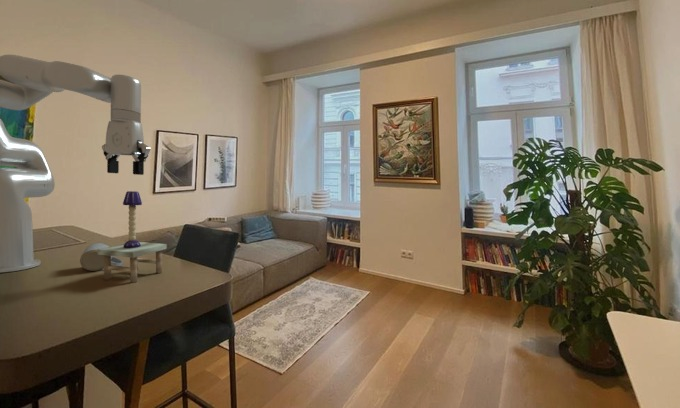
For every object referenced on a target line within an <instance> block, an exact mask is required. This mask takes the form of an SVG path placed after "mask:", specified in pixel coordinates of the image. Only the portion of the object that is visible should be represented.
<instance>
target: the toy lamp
mask: <svg viewBox="0 0 680 408" xmlns="http://www.w3.org/2000/svg"><path fill="white" fill-rule="evenodd" d="M142 205H143V201H142V199H141V195H140V192H139V191H135V190H134V191H128V190H127V191H126V192H125V195H124V199H123V202H122V206H128V225H129V226H128V241H125V243H123V244H124V246H123V247H124V248H135V247H140V246H141V245H140V243H139V242H140V241H139V240H137V237H136V234H137V232H136V229H137V227H136V224H137V222H136V219H137V217H136V214H137V212H136V209H137V206H142Z"/></svg>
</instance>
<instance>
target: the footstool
mask: <svg viewBox="0 0 680 408" xmlns="http://www.w3.org/2000/svg"><path fill="white" fill-rule="evenodd" d="M138 242H139V243H140V245H141V246H140V247H135V248H124V247H123V246H124V244H125V243H123V244H117V245H116V244H115V245H113V246H111V245H110V246H109V247H107V248H102V249H98V255H104V268H103V270H104V271H103V273H104V275H103V278H104V280H105V281H108V280H109V281H110V280H112V271H118V272H127V273H128V272H129V274H130V275H129V279H130V283H131V284H134V283H135V284H136V283H137V282H138V271H139V263H146V264H153V265H155V273H156V274H162V273H163V252H162V251H164V250H167V249H168V245H167V243H157V242H156V243H155V242H146V241H145V242H143V241H138ZM153 253H155V259H152V258H142V257H141V256H144V255H148V254H153ZM111 256H113V257H119V258H120V257H121V258H129V266H123V265H121V266H113V265H111V262H112V261H111Z"/></svg>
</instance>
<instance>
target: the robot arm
mask: <svg viewBox="0 0 680 408" xmlns="http://www.w3.org/2000/svg"><path fill="white" fill-rule="evenodd" d="M0 76H1V77H2V78H3V79H0V108H2V109H3V108H4V109H8V110H11V111H23V110H27V109H29V108H31V107H32V106H34V105H35V104H37V103H39V102H40V101H42V100H43V99H45V98H47V97H49V96H50V95H51V94H52V93H61V92H64V91H70V92H74V93H77V94H81V95H84V96H86V97H90V98H93V99H96V100H98V101H102V102H104V103H108V104H110V120H109V121H108V124H107V127H106V132H105V134H106V135H105V143H104V144H103V145H102V146H101V150H102V152H103V155H104V157H105V160H106V161H107V162H106V163H107V164H106V165H107V166H106V167H107V168H106V169H107V170H106V171H107V174H119V171H120V170H119V169H120V168H119V166H120V165H119V163H120V162H119V160H118V159H119V157H120V156H132V159H134V160H133V161H132V174H133V175H134V176H135V175H137V176H138V175H140V176H143V175H144V173H145V171H144V169H145V168H144V167H145V165H144V163H145V162H146V159H147V158H148V157H149V153H151V152H150V151H151V147H149V146H148V145H146V144H145V142H144V132H143V125H142V123H141V120H142V119H141V117H142V114H141V113H142V85H141V81H140V80H138V78H135V77H132V76H131V75H130V76H129V75H126V74H113V75H112V76H111V77H109V76H106V75H105V74H102V73H100V72H97V71H95V70H94V69H91V68H89V67H87V66H83V65H78V64H74V63H70V62H65V61H60V60H54V61H46V60H42V59H37V58H32V57H27V56H23V55H19V54H18V55H17V54H3V55H0ZM4 79H5V80H4ZM1 166H2V167H1ZM49 166H50V165H49V163H48V162H47V159H46V155H45V154H44V152H43V150H42V149H41V147H40V146H39V145H38V144H36V143H35V141H32V140H28V139H25V138H20V137H13V136H11V135H10V134H9V132H8V130H7V129H6V126H5V123H4V122H3V119H1V118H0V273H9V272H10V273H11V272H18V271H23V270H27V269H28V270H29V269H31V268H32V269H33V268H35V267H38V266H40V265H41V264H42V263H41V260H40V259H35V258H34V235H33V234H34V232H33V213H32V209H31V207H30V205H29V204H28V202H27V201H26V200H25V199H26V198H27V199H28V198H43V197H47V196H49V195H50V194H52V193H53V191H54V190H55V185H56V184H55V183H56V182H55V179H54V175H53V174H52V170H51V169H50V167H49Z"/></svg>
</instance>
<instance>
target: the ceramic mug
mask: <svg viewBox="0 0 680 408" xmlns="http://www.w3.org/2000/svg"><path fill="white" fill-rule="evenodd" d="M107 247H110V246H109V245H107V244H105V243H101V242H100V243H99V242H97V243H92V244H91V245H89V246H87V247H86V248H85V249H84V251H83V252H82V254H81V256H80V259H79V263H80V266H81V267H82V268H83V269H84V270H87V271H89V272H97V271H100V270H102V269H104V255H98V249H102V248H107ZM123 263H124V261H123V260H122V259H120V258H118V257H117V256H111V265H113V266H123Z"/></svg>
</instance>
